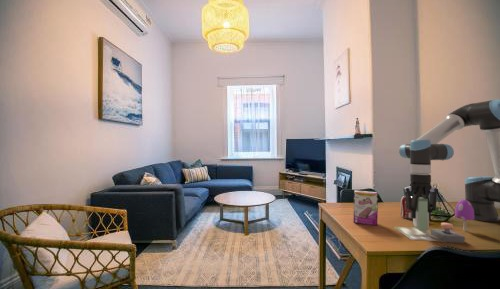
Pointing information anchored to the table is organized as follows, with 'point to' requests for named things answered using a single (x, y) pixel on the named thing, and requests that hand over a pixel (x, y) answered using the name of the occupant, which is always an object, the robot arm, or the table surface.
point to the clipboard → (417, 234)
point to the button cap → (447, 227)
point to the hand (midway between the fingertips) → (420, 225)
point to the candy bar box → (365, 207)
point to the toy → (464, 212)
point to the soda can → (404, 211)
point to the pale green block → (422, 214)
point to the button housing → (447, 236)
